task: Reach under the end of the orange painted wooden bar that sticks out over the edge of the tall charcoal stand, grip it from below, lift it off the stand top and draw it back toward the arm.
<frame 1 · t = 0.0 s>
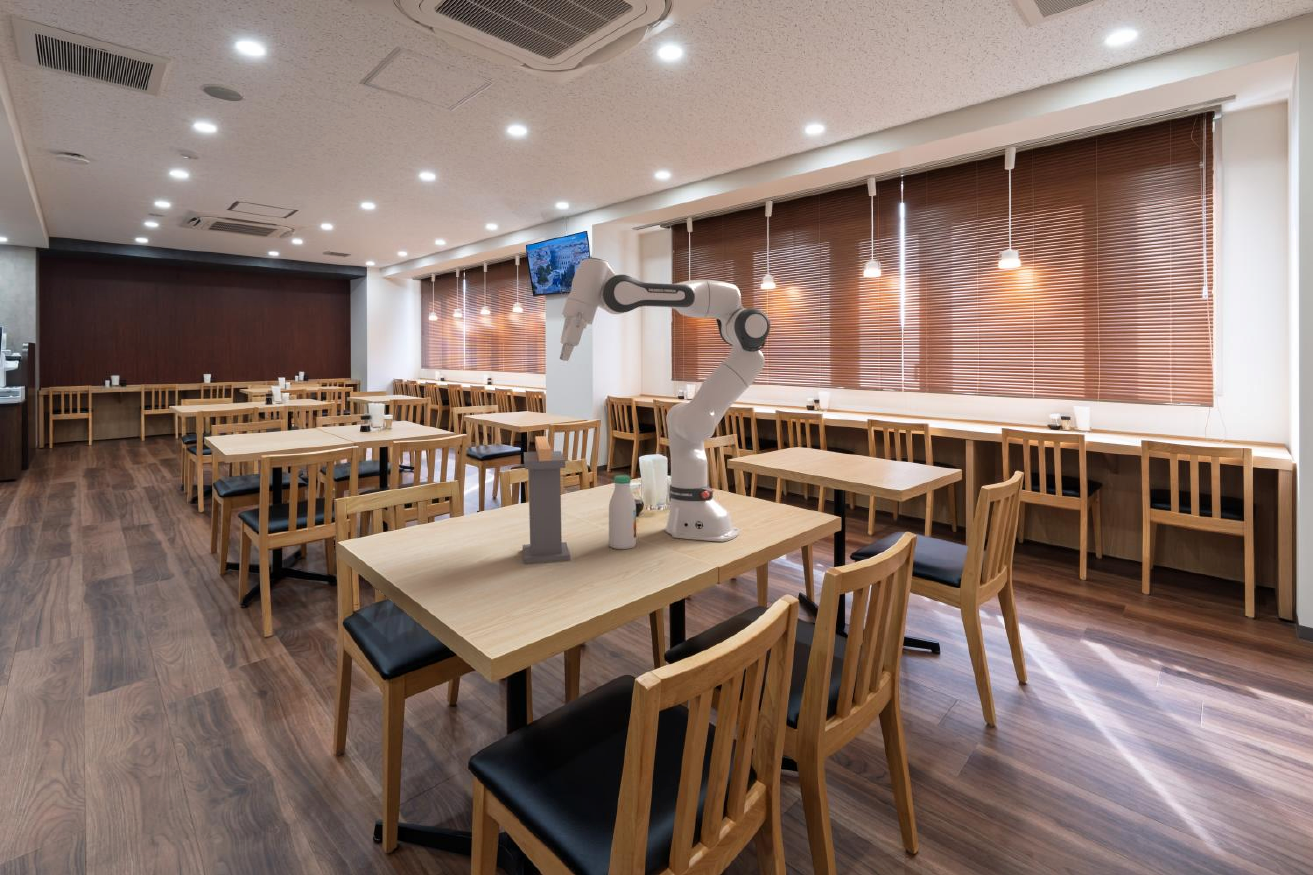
hand: (563, 360, 181), 52 cm above the table, tool tilted 20°, fingers open, 8 cm apart
milk bottle: (622, 546, 180), on the table
stand: (545, 555, 172), on the table
bar: (542, 453, 173), point 27 cm above the table, touching stand
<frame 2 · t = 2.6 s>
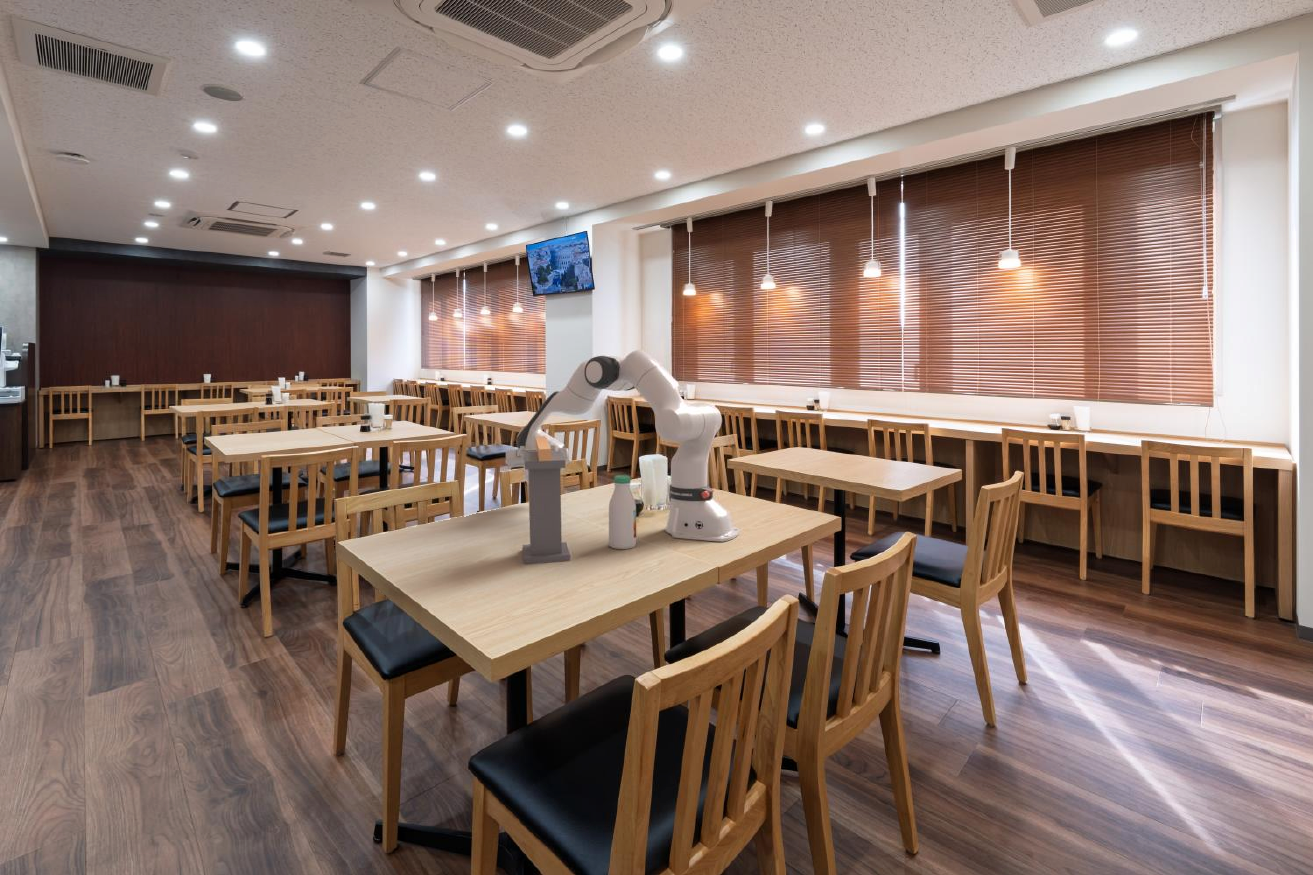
hand: (537, 447, 202), 24 cm above the table, tool pointing upward, fingers open, 8 cm apart
nothing on the table moved.
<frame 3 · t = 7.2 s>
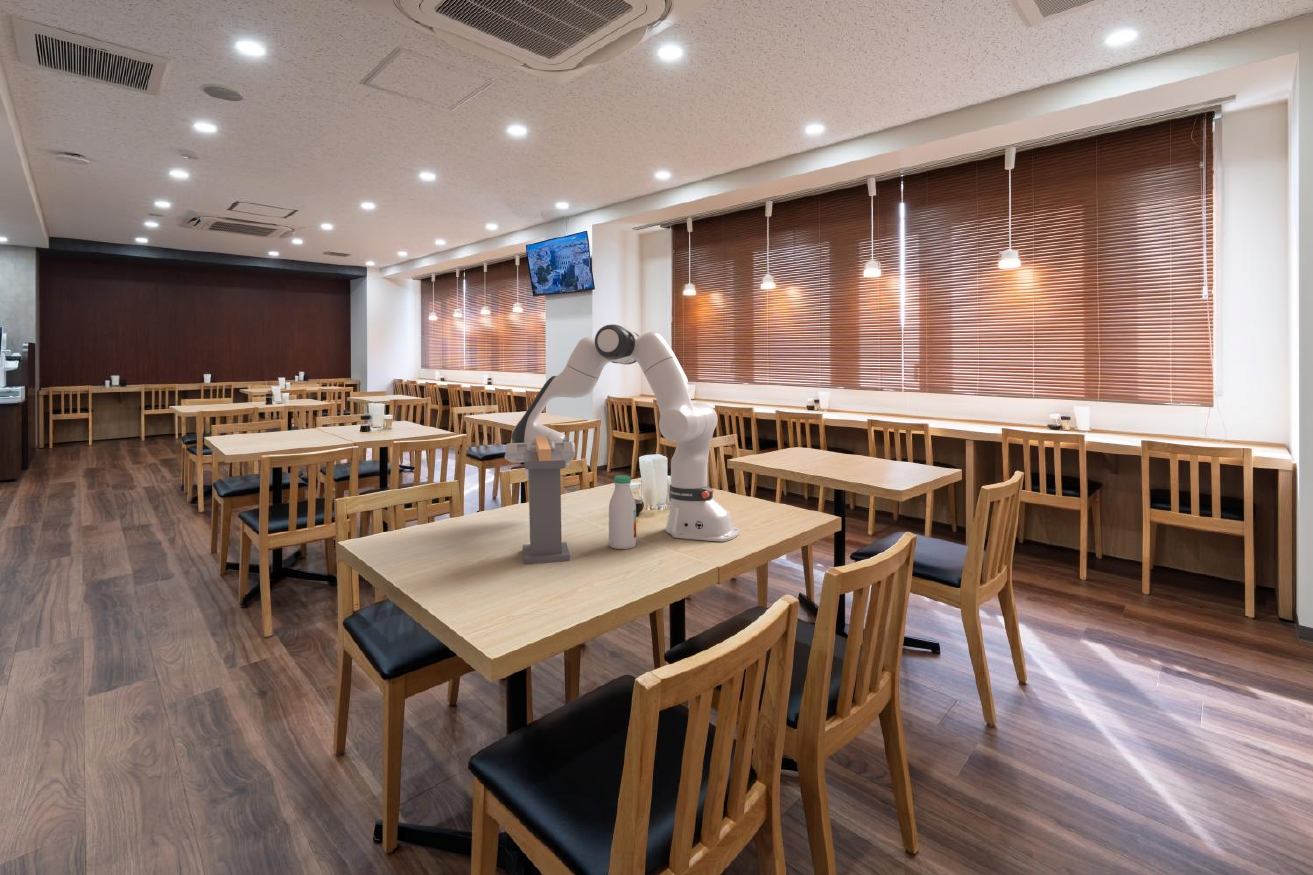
hand: (541, 441, 182), 29 cm above the table, tool pointing upward, fingers closed on bar, 3 cm apart
bar: (542, 453, 173), point 27 cm above the table, touching gripper, stand
everything else where it was.
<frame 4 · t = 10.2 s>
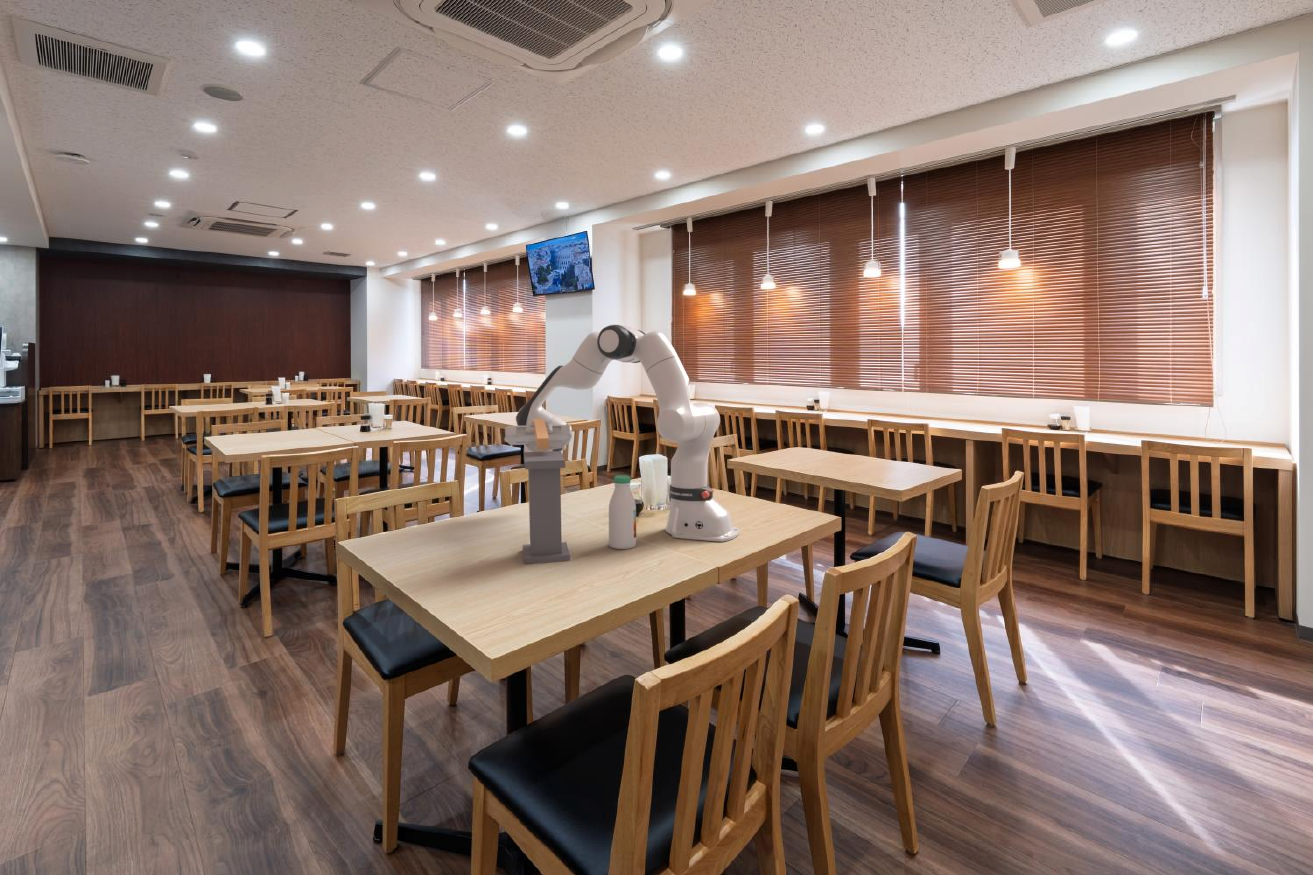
hand: (539, 424, 190), 33 cm above the table, tool pointing upward, fingers closed on bar, 3 cm apart
bar: (541, 438, 182), point 30 cm above the table, tilted 6°, touching gripper
everything else where it was.
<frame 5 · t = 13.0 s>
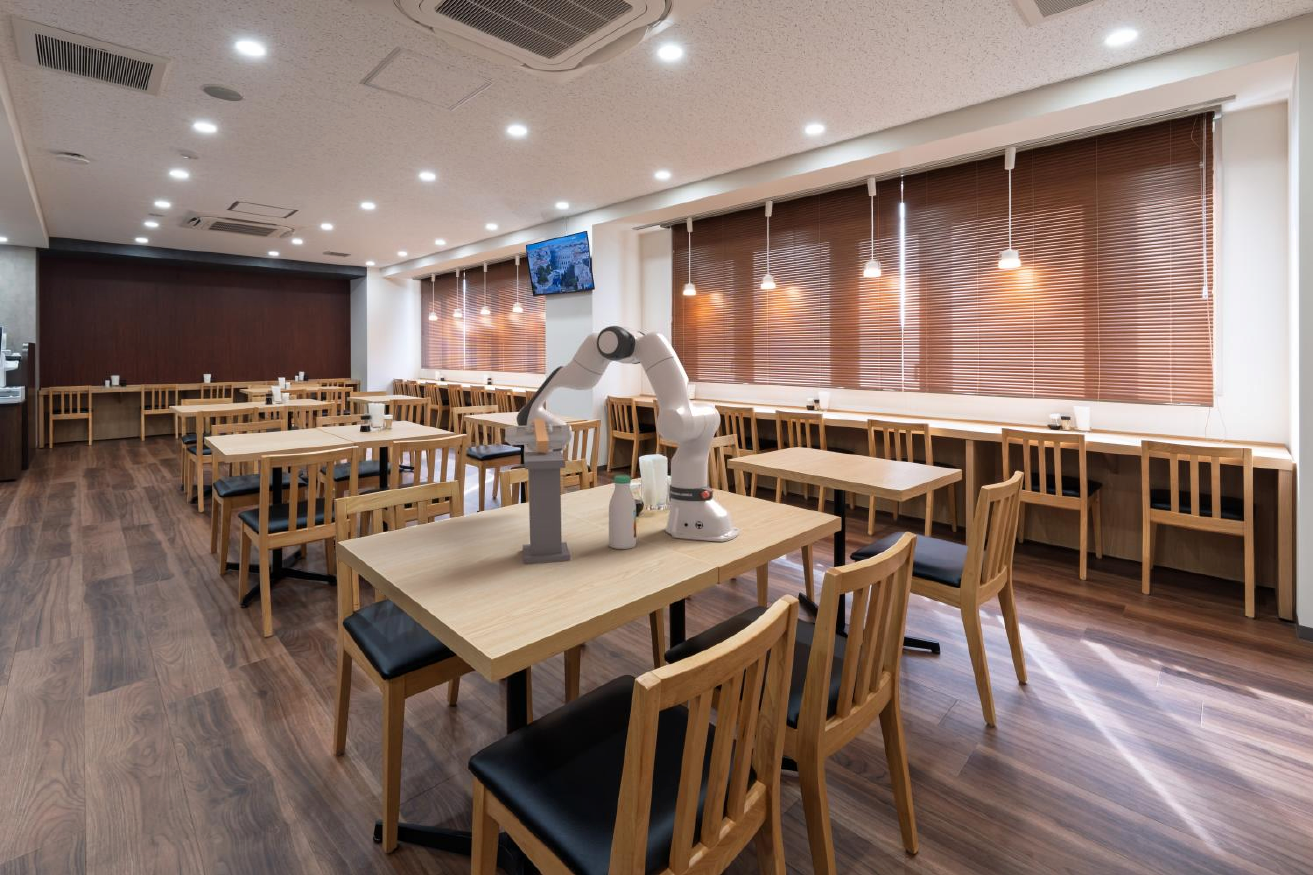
hand: (539, 424, 191), 33 cm above the table, tool pointing upward, fingers closed on bar, 3 cm apart
bar: (540, 439, 183), point 29 cm above the table, tilted 8°, touching gripper
everything else where it was.
at the end: the gripper is holding bar; bar touching gripper; bar moved 10.6 cm from its start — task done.
